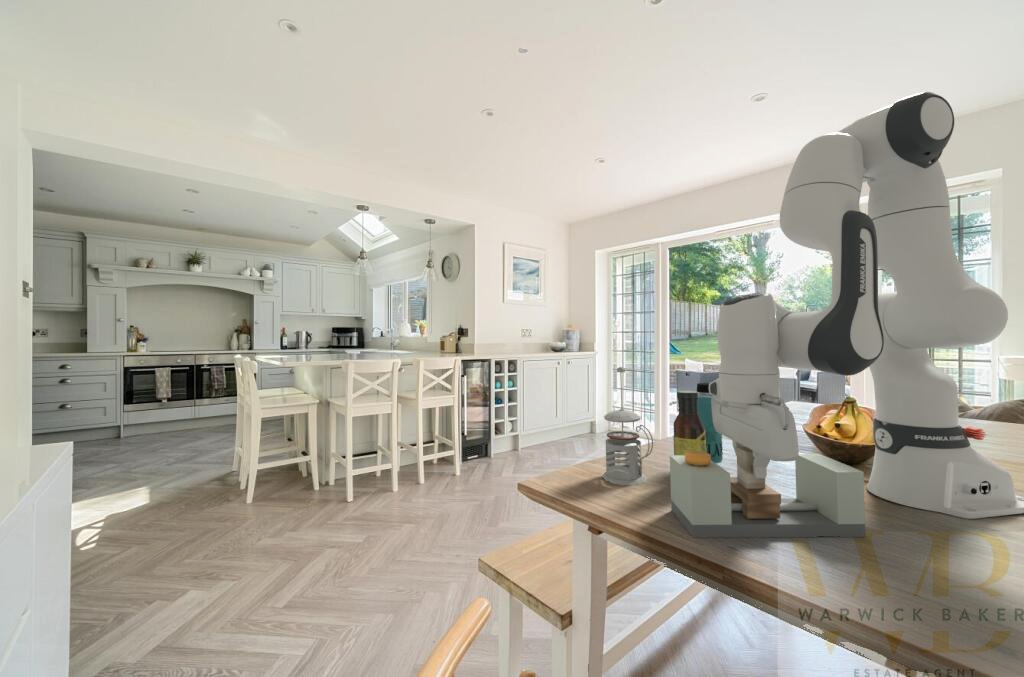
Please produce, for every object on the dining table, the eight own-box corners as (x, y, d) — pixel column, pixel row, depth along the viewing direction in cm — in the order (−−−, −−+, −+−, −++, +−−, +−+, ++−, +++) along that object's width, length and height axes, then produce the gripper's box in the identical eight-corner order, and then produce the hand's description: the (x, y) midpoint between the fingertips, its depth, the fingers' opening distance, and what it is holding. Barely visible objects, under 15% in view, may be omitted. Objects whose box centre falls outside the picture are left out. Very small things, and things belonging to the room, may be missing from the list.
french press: (615, 467, 99) (612, 364, 99) (662, 478, 91) (659, 366, 91) (593, 478, 92) (590, 367, 92) (641, 491, 84) (638, 369, 84)
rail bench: (819, 509, 73) (818, 453, 73) (865, 536, 63) (863, 472, 63) (671, 510, 74) (669, 455, 74) (692, 537, 64) (691, 474, 64)
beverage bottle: (697, 470, 95) (695, 384, 95) (690, 461, 102) (687, 381, 102) (727, 470, 94) (725, 384, 94) (718, 461, 101) (715, 381, 101)
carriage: (754, 499, 72) (752, 443, 72) (781, 519, 64) (779, 456, 64) (725, 499, 73) (723, 443, 73) (749, 519, 65) (747, 456, 65)
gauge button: (705, 486, 71) (704, 450, 71) (715, 495, 67) (714, 457, 67) (682, 486, 71) (681, 451, 71) (691, 495, 67) (689, 458, 67)
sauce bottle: (711, 492, 82) (708, 393, 82) (678, 491, 83) (675, 393, 83) (702, 481, 88) (700, 389, 88) (672, 480, 89) (669, 389, 89)
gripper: (810, 398, 58) (813, 496, 58) (738, 382, 78) (740, 454, 78) (764, 399, 58) (767, 496, 58) (704, 383, 79) (706, 455, 79)
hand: (751, 472), depth 68 cm, fingers closed on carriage, 3 cm apart
